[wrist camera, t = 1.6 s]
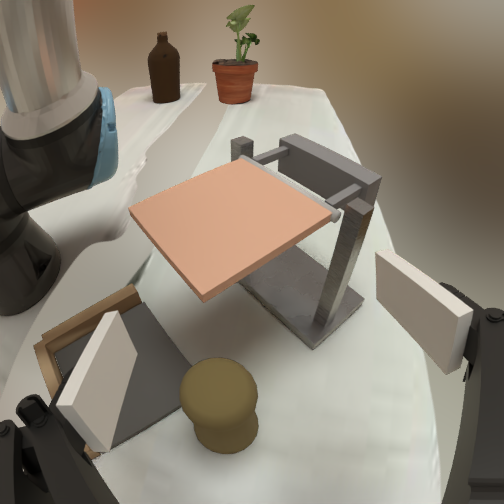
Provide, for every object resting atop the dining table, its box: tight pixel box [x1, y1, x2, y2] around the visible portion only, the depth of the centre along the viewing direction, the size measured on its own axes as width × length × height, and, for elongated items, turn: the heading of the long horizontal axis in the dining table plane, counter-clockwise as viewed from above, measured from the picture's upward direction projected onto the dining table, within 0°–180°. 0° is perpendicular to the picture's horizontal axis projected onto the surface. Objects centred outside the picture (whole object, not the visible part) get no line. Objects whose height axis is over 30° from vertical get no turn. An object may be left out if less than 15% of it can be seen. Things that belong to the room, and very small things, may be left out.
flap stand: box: [231, 136, 374, 350], centre depth 32 cm, size 9×17×16 cm, turn 40°
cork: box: [179, 358, 259, 454], centre depth 21 cm, size 6×6×11 cm
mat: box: [55, 302, 192, 453], centre depth 28 cm, size 13×13×1 cm
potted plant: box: [212, 5, 260, 104], centre depth 79 cm, size 16×15×35 cm
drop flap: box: [128, 134, 382, 303], centre depth 26 cm, size 19×12×4 cm, turn 130°
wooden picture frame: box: [34, 284, 142, 460], centre depth 27 cm, size 15×14×2 cm
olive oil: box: [148, 32, 180, 103], centre depth 85 cm, size 11×11×25 cm
